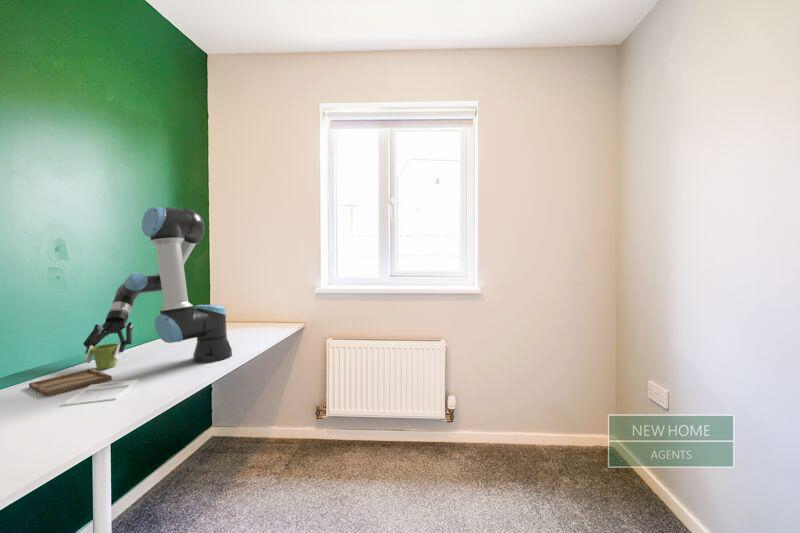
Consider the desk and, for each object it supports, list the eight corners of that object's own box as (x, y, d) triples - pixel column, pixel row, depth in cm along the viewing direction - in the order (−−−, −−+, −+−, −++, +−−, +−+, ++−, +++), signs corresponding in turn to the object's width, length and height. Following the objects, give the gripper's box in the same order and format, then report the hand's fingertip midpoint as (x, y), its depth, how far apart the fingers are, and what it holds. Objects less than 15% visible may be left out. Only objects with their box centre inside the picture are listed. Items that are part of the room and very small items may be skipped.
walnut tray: (111, 380, 139) (111, 375, 139) (47, 397, 124) (46, 392, 124) (91, 372, 148) (91, 368, 148) (29, 387, 133) (28, 383, 133)
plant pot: (85, 370, 152) (84, 348, 152) (109, 363, 161) (108, 343, 161) (102, 371, 149) (101, 350, 149) (126, 364, 158) (124, 344, 158)
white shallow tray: (138, 378, 137) (115, 397, 120) (138, 381, 137) (116, 400, 120) (90, 384, 133) (60, 404, 116) (91, 387, 133) (60, 407, 116)
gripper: (149, 317, 172) (135, 362, 157) (93, 321, 167) (74, 367, 152) (143, 307, 166) (128, 352, 152) (85, 311, 161) (64, 358, 147)
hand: (101, 360), depth 152 cm, fingers closed on plant pot, 9 cm apart
